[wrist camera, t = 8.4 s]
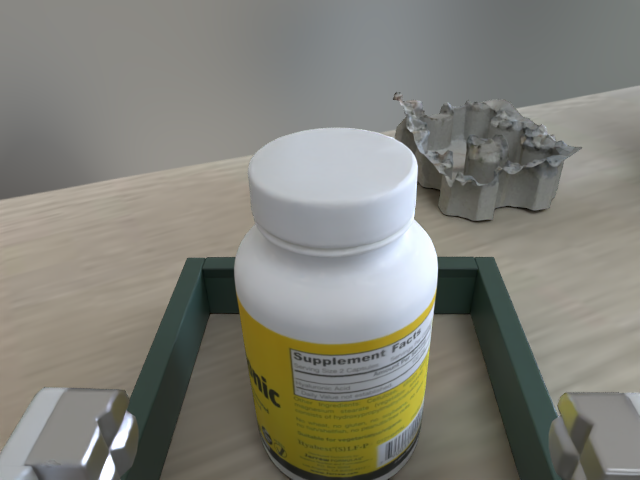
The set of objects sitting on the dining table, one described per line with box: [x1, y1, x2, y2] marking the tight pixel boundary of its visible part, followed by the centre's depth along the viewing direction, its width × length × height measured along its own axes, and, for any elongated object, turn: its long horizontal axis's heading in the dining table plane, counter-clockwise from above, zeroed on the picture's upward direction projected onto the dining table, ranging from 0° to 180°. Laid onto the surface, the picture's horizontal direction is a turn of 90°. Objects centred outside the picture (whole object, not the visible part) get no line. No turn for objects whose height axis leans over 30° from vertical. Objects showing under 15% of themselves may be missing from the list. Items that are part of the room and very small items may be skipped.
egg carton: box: [393, 92, 582, 221], centre depth 31 cm, size 11×8×4 cm
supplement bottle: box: [234, 128, 438, 480], centre depth 15 cm, size 5×5×10 cm
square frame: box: [120, 257, 563, 480], centre depth 17 cm, size 13×13×2 cm
